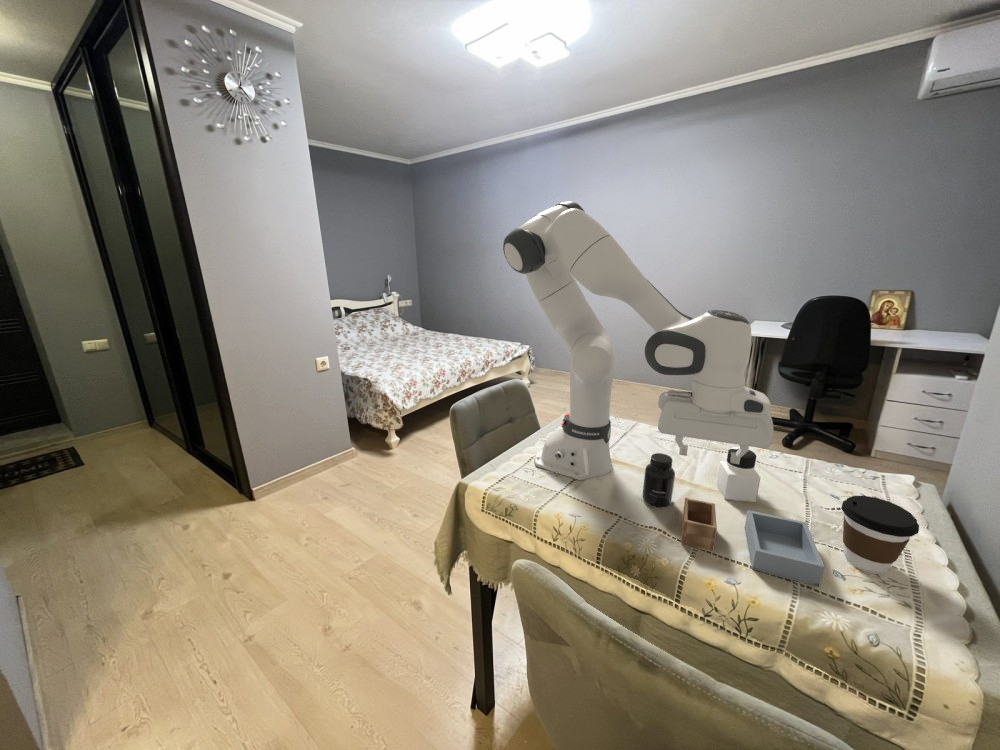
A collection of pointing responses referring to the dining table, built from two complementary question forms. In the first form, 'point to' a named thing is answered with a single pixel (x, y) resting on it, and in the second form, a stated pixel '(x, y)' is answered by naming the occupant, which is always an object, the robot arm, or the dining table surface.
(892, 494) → the dining table surface
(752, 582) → the dining table surface
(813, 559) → the grey crate
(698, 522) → the walnut crate
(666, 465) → the supplement bottle
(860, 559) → the coffee cup
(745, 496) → the medicine bottle
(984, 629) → the dining table surface
